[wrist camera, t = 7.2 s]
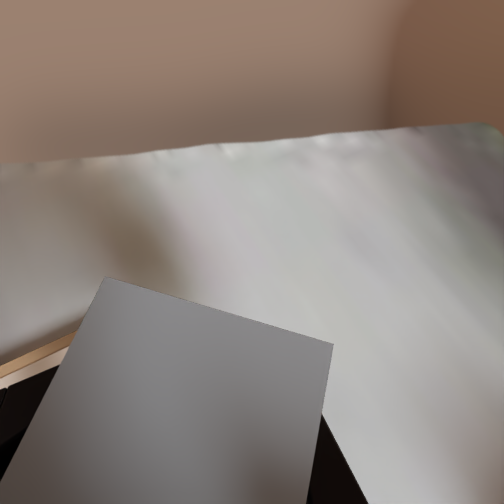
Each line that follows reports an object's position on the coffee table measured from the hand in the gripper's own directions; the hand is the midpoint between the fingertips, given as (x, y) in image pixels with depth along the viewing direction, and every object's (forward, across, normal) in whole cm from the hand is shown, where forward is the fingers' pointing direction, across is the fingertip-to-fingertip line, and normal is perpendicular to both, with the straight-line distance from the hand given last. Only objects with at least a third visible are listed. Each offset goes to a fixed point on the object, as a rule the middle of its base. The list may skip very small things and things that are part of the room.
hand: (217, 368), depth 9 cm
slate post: (+3, 0, +5) cm, 6 cm away
